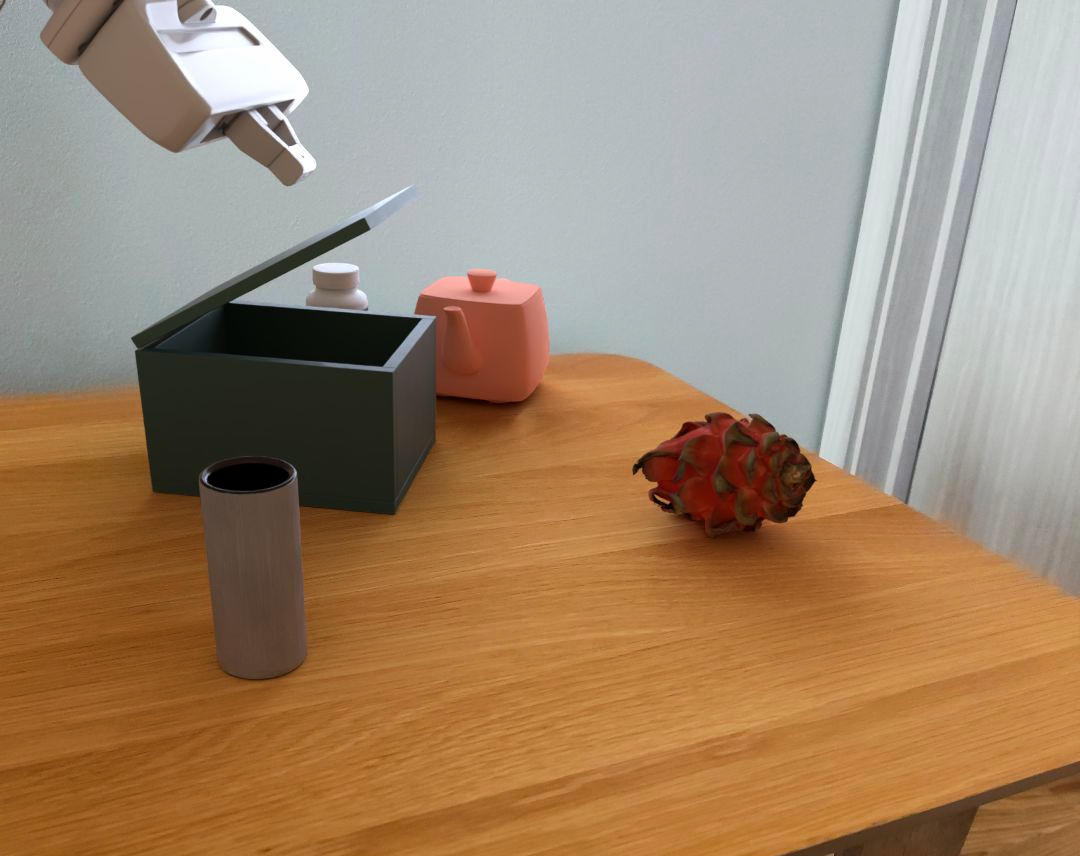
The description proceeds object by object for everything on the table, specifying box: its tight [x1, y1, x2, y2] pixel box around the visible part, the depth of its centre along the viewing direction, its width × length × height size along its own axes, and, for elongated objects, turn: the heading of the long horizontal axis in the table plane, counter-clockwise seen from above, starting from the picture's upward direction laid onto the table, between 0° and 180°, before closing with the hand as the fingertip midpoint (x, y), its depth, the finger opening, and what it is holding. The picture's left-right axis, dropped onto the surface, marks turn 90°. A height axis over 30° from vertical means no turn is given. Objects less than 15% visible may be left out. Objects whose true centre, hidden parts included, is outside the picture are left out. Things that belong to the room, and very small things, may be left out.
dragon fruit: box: [632, 411, 818, 538], centre depth 70 cm, size 8×8×12 cm
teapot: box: [413, 268, 550, 404], centre depth 92 cm, size 12×18×10 cm, turn 167°
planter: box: [199, 456, 308, 680], centre depth 53 cm, size 4×4×10 cm
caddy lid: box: [130, 183, 420, 349], centre depth 71 cm, size 18×14×1 cm
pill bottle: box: [305, 262, 369, 311], centre depth 94 cm, size 5×5×10 cm
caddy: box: [134, 299, 437, 515], centre depth 75 cm, size 17×14×10 cm
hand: (304, 176), depth 69 cm, fingers closed
